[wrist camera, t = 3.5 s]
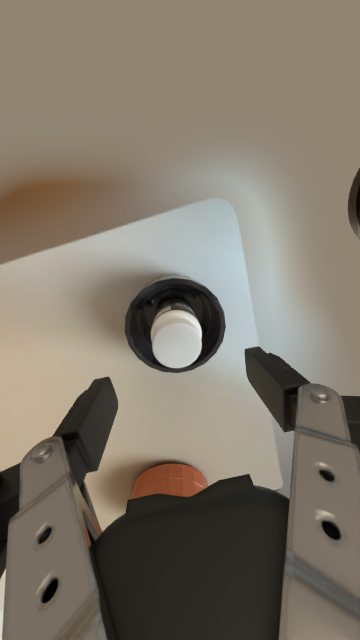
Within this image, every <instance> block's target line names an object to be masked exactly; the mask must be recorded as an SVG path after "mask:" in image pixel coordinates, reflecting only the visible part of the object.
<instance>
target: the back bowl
mask: <svg viewBox="0 0 360 640" xmlns="http://www.w3.org/2000/svg"><path fill="white" fill-rule="evenodd" d="M207 487H208V485H207V480H206V478H205V477H204V476H203V474H202V473H201V472H199V471H198V470H196V469H195V468H193V467H191V466H187V465H183V464H164V465H159V466H155V467H153V468H151V469H149V470H147V471H145V472H143V473H142V474H141V475H140V476H139V477H138V478H137V479H136V481H135V483H134V484H133V486H132V491H131V498H130V499H133V498H138V497H143V496H147V495H152V494H157V493H160V494H168V495H177V496H185V497H189V496H192V495H194V494H196V493H198V492H200V491H201V490H203V489H205V488H207Z"/></svg>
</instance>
